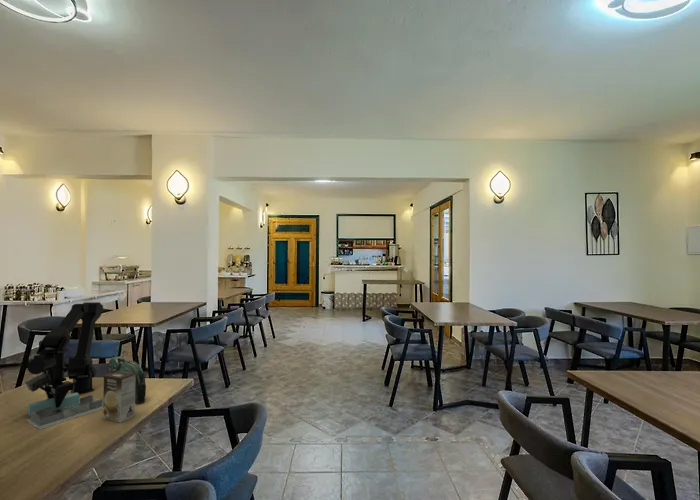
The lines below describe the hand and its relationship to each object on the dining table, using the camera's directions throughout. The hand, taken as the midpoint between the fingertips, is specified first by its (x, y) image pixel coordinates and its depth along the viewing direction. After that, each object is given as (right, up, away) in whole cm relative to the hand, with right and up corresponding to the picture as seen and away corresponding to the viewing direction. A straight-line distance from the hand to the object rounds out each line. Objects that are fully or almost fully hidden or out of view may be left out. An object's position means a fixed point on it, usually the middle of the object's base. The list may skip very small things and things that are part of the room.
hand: (54, 405), depth 139 cm
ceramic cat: (+23, -2, +10) cm, 25 cm away
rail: (0, -1, 0) cm, 1 cm away
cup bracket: (+10, -1, -5) cm, 11 cm away
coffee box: (+30, -1, -8) cm, 31 cm away
